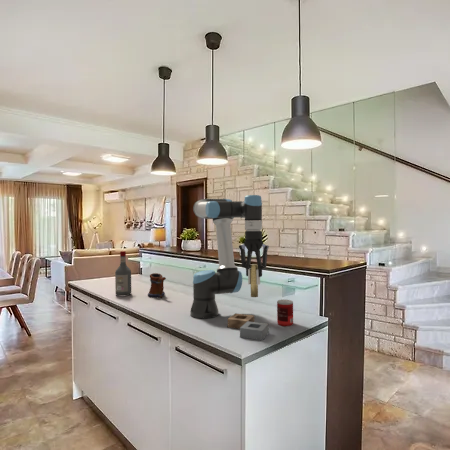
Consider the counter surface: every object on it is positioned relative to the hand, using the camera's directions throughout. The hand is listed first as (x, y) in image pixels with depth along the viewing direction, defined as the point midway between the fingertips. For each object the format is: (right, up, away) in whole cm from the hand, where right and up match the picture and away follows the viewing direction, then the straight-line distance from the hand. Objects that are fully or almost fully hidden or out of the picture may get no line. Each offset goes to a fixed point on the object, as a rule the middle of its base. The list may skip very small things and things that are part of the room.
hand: (254, 283), depth 143 cm
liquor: (-83, -23, +84) cm, 120 cm away
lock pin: (0, -6, 0) cm, 6 cm away
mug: (-57, -23, +76) cm, 98 cm away
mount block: (-5, -22, +14) cm, 27 cm away
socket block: (0, -23, 0) cm, 23 cm away
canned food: (+16, -22, +15) cm, 32 cm away
